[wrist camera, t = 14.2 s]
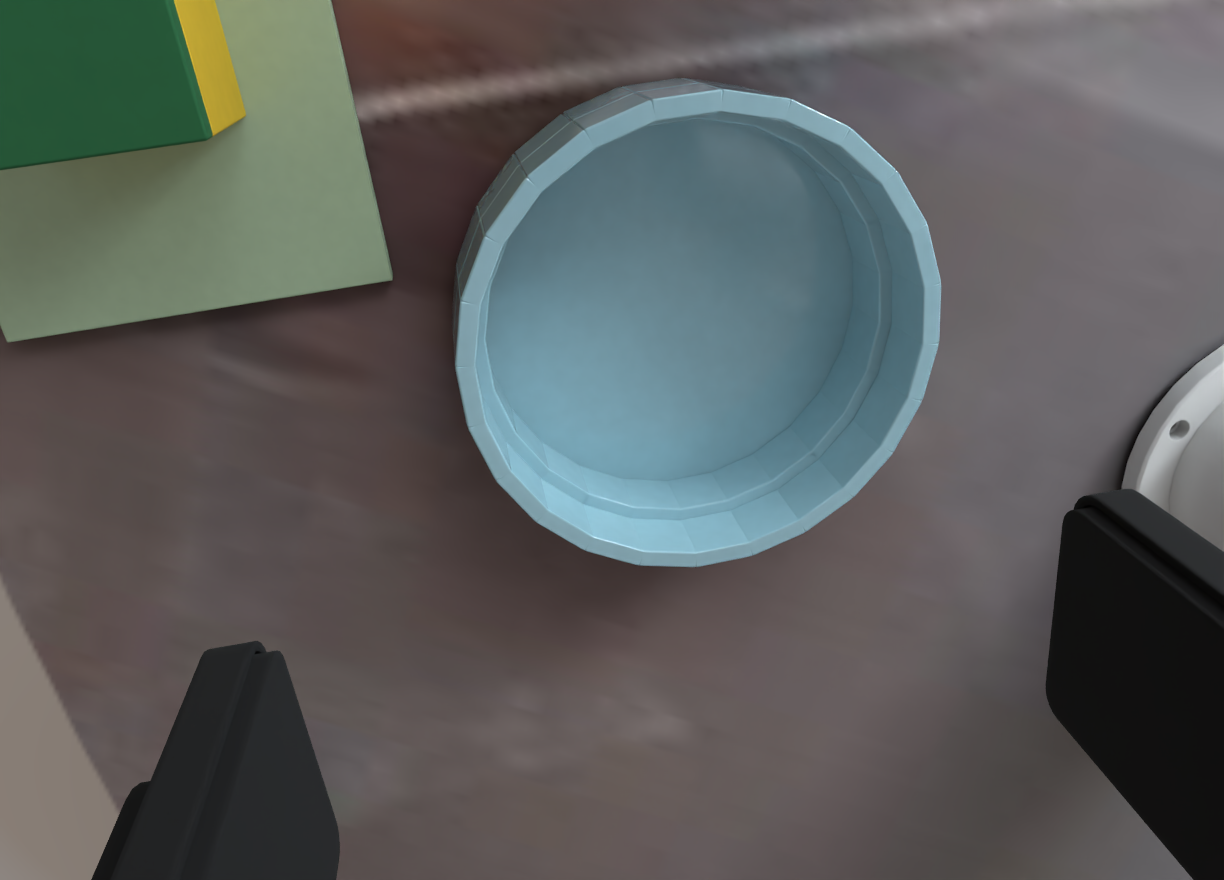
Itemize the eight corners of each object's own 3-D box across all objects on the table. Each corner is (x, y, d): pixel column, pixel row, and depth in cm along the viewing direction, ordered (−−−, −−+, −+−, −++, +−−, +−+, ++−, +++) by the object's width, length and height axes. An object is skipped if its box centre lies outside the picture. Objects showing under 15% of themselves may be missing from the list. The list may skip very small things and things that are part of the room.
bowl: (727, -28, 29) (781, -33, 25) (943, 332, 36) (1017, 379, 31) (356, 279, 31) (344, 326, 27) (626, 567, 38) (652, 643, 33)
